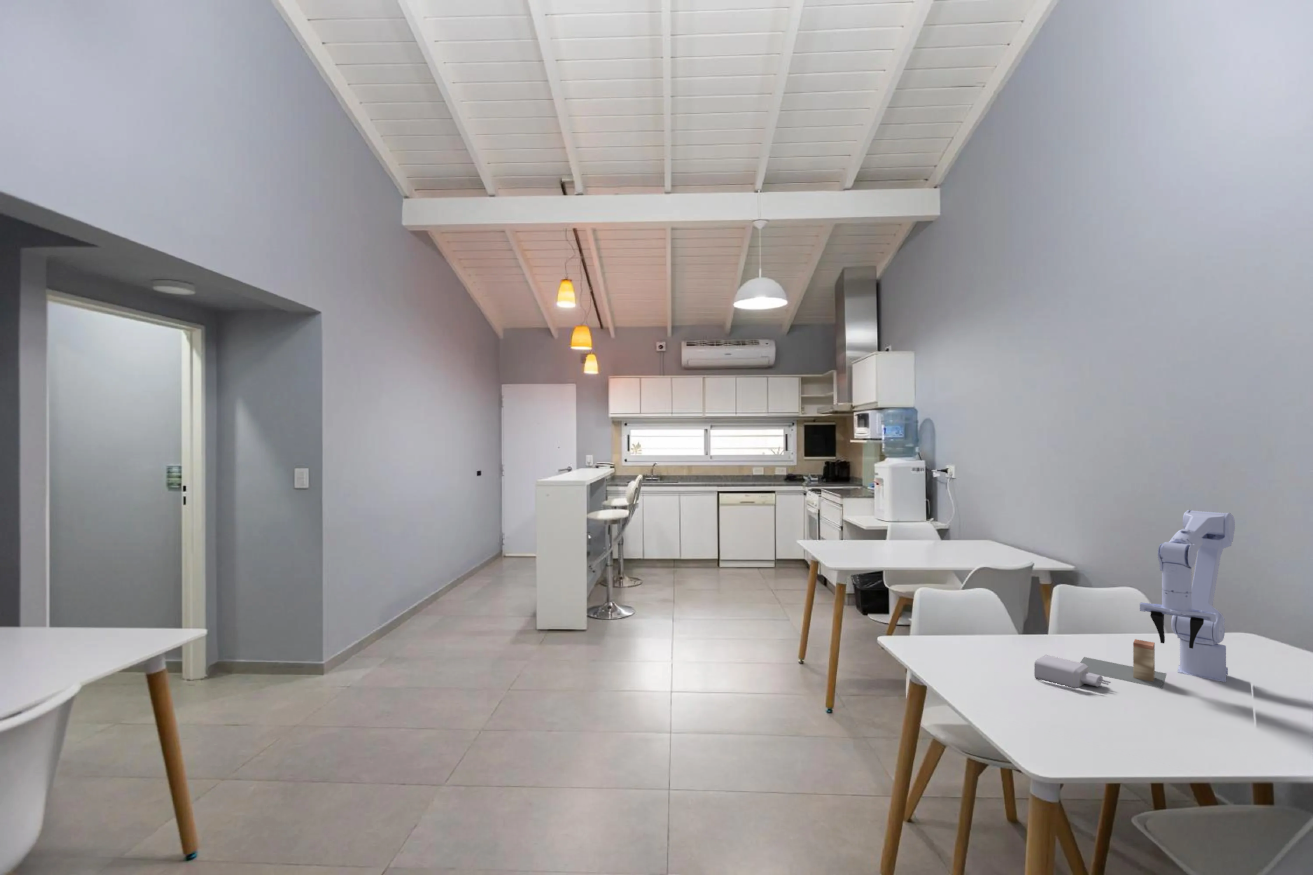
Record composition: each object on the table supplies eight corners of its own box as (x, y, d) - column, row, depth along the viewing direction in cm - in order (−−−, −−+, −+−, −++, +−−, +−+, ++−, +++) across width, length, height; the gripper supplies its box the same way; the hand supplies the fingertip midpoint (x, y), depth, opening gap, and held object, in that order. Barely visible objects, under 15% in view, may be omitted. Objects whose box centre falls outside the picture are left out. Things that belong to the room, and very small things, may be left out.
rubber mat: (1166, 675, 161) (1166, 673, 161) (1162, 690, 151) (1162, 688, 151) (1084, 658, 174) (1084, 656, 174) (1074, 671, 163) (1074, 669, 163)
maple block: (1154, 677, 158) (1154, 642, 158) (1153, 681, 155) (1153, 646, 156) (1135, 673, 161) (1135, 639, 161) (1133, 677, 158) (1133, 642, 158)
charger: (1103, 697, 147) (1034, 679, 158) (1115, 688, 153) (1047, 671, 164) (1103, 678, 147) (1034, 660, 159) (1115, 669, 153) (1047, 653, 164)
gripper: (1138, 588, 156) (1138, 641, 156) (1215, 598, 146) (1215, 655, 146) (1141, 584, 161) (1141, 635, 161) (1215, 593, 151) (1216, 648, 151)
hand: (1176, 644), depth 154 cm, fingers open, 5 cm apart
